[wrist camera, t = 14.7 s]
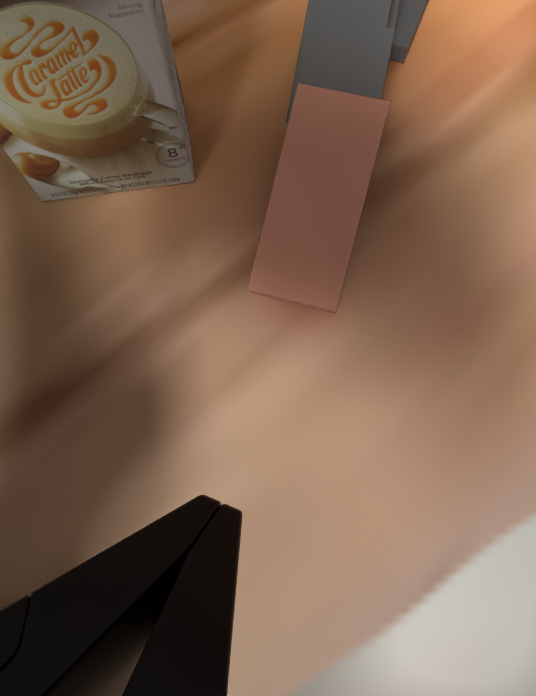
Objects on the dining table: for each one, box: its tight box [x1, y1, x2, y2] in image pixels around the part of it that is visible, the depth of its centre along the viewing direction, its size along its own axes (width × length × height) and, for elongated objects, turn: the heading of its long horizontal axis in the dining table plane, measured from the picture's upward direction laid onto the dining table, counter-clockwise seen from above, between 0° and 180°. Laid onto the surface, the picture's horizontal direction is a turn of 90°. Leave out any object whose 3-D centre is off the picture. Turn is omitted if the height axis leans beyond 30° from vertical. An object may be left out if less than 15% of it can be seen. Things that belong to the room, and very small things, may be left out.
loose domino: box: [247, 83, 390, 313], centre depth 24 cm, size 2×4×10 cm
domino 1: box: [286, 0, 392, 122], centre depth 27 cm, size 2×4×10 cm
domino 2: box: [284, 17, 395, 139], centre depth 25 cm, size 2×4×10 cm
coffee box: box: [0, 0, 195, 201], centre depth 21 cm, size 9×6×16 cm
